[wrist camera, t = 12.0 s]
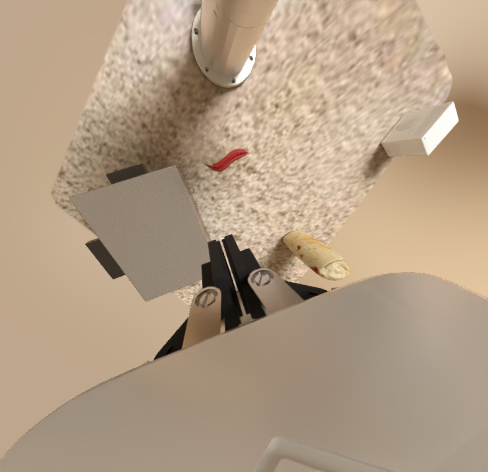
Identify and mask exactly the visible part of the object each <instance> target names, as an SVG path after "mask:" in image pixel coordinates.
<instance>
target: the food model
mask: <svg viewBox="0 0 488 472" xmlns="http://www.w3.org/2000/svg"><path fill="white" fill-rule="evenodd" d="M283 242H284V243H285V244H286V246H287V247H288V248H289V249H290V250H291V251H292V252H293V253H294V254H295V255H296V256H297V257H298V258H299V259H300V260H301V261H303V262H304V263H305V264H306V265H307V266H308V267H310V268H311V269H312V270H313V271H314V272H316V273H317V274H318V275H320V276H321V277H323V278H325V279H328V280H333V281H336V280H341V279H343V278H345V277H347V276H348V275H349V273H350V268H349V267H348V266H347V265H346V264H345V263H344V262H343V261H342V260H343V258H342V256H341V255H340V254H338V253H337V252H335V251H334V250H332V249H331V248H329V247H328V246H326V245H324V244H323V243H321V242H320V241H318V240H316V239H315V238H313V237H311V236H309V235H308V234H306V233H304V232H301V231H292V232H290V233H288V234H287V235H286V236H284V238H283Z"/></svg>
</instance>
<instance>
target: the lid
mask: <svg viewBox="0 0 488 472" xmlns="http://www.w3.org/2000/svg"><path fill="white" fill-rule="evenodd" d="M69 198H70V200H71V201H72V203H73V204H74V205H75V207H76V208H77V209H78V211H79V212H80V213H81V215H82V216H83V217H84V219H85V220H86V222H87V223H88V224H89V226H90V227H91V228H92V230H93V231H94V232H95V234H96V235H97V236H98V238H97V239H94V240H91V241H89V242H88V243H86V244H85V245H86V246H87V247H88V248H89V250H90V251H91V252H92V253H93V255H94V256H95V257H96V259H97V260H98V261H99V262H100V264H101V265H102V266H103V267H104V269H105V270H106V271H107V272H108V274H109V275H110V276H111V277H112V279H115V278H118V277H121V276H123V275H126V276H127V277H128V278H129V280H130V281H131V282H132V284H133V285H134V287H135V288H136V289H137V291H138V292H139V293H140V295H141V296H142V297H143V299H144V300H145V301H149V300H151V299H154V298H156V297H159V296H161V295H164V294H166V293H169V292H172V291H174V290H177V289H179V288H182V287H184V286H187V285H189V284H192V283H194V282H197V281H199V280H202V269H201V265H202V264H204V263H207V262H210V256H209V249H208V240H207V238H206V235H205V233H204V231H203V228H202V226H201V224H200V221H199V219H198V217H197V214H196V212H195V209H194V207H193V205H192V202H191V200H190V198H189V195H188V193H187V191H186V188H185V186H184V183H183V181H182V179H181V176H180V174H179V172H178V169H177V167H176V165H173V166H170V167H167V168H163V169H160V170H157V171H154V172H150V173H147V174H144V175H141V176H137V177H134V178H131V179H128V180H125V181H121V182H118V183H115V184H112V185H108V186H105V187H102V188H99V189H95V190H92V191H89V192H86V193H82V194H79V195H76V196H73V197H69Z"/></svg>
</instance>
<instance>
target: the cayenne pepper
mask: <svg viewBox="0 0 488 472" xmlns="http://www.w3.org/2000/svg"><path fill="white" fill-rule="evenodd" d="M246 153H248V152H246V151H245V149H236V150H234V151H232V152H230V153H229V154H228V155H227V156H226V157H224V158H223V159H222V160H221V161H219V162H217V163H214V164H213V166H210V165H208V166H210V167H212V168H213V169H212V170H215V171H222V170H224V169H226V168H227V167H228V166H229V165H230V164H231V163H232V162H233V161H235V160H237V159H238V158H240V157H243V156H245V155H246ZM249 154H250V153H249Z"/></svg>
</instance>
